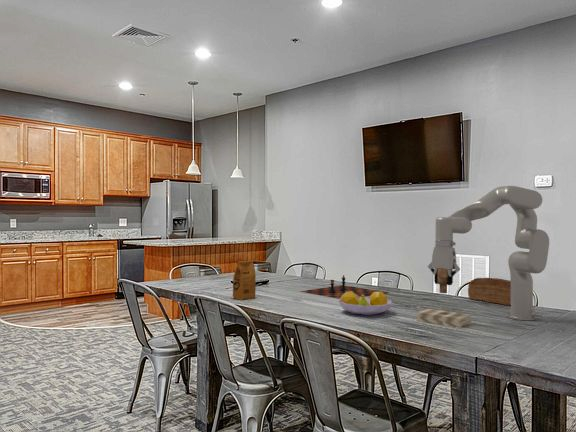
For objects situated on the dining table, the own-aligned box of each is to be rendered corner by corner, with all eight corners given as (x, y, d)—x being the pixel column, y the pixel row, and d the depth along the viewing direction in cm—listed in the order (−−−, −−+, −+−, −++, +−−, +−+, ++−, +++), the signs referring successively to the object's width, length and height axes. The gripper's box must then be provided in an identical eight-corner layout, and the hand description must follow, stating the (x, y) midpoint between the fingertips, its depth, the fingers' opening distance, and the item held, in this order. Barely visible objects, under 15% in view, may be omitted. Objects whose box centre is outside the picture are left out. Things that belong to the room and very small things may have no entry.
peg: (451, 292, 213) (451, 268, 213) (446, 294, 209) (446, 269, 209) (440, 291, 217) (440, 267, 217) (434, 292, 213) (435, 268, 213)
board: (471, 323, 210) (471, 314, 210) (459, 328, 202) (459, 318, 202) (429, 317, 224) (429, 308, 224) (417, 320, 216) (417, 312, 216)
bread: (515, 307, 249) (515, 282, 250) (464, 299, 275) (464, 276, 275) (527, 305, 256) (527, 280, 256) (477, 297, 282) (477, 275, 282)
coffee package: (230, 298, 274) (230, 260, 274) (248, 296, 282) (248, 259, 282) (239, 300, 267) (240, 261, 267) (257, 298, 274) (257, 260, 275)
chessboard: (342, 286, 327) (342, 270, 327) (388, 293, 296) (388, 276, 296) (299, 292, 301) (299, 275, 301) (345, 301, 270) (345, 282, 270)
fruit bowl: (350, 305, 253) (350, 284, 253) (399, 311, 239) (399, 288, 239) (327, 314, 229) (327, 291, 229) (380, 321, 215) (380, 296, 215)
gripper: (465, 245, 210) (465, 285, 210) (430, 243, 222) (429, 281, 222) (458, 245, 205) (458, 287, 204) (422, 243, 216) (422, 283, 216)
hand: (443, 283), depth 213 cm, fingers closed on peg, 5 cm apart
